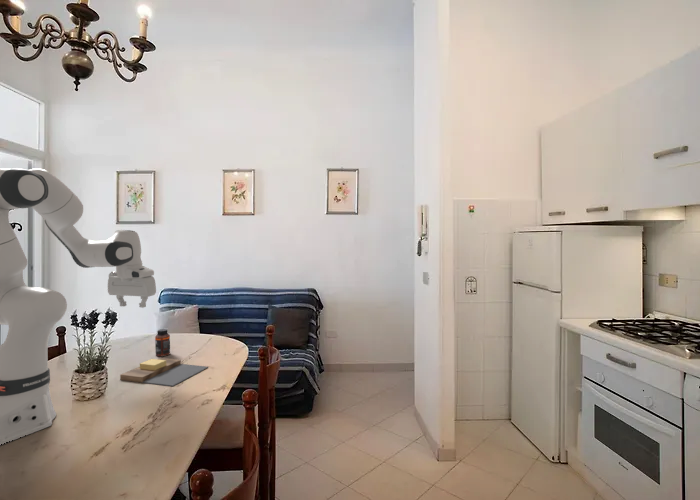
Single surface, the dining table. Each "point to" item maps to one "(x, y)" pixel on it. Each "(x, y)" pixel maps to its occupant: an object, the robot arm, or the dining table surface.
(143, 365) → the pale yellow flat block
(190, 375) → the mat
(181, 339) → the dining table surface
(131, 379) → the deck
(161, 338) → the supplement bottle
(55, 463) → the dining table surface
